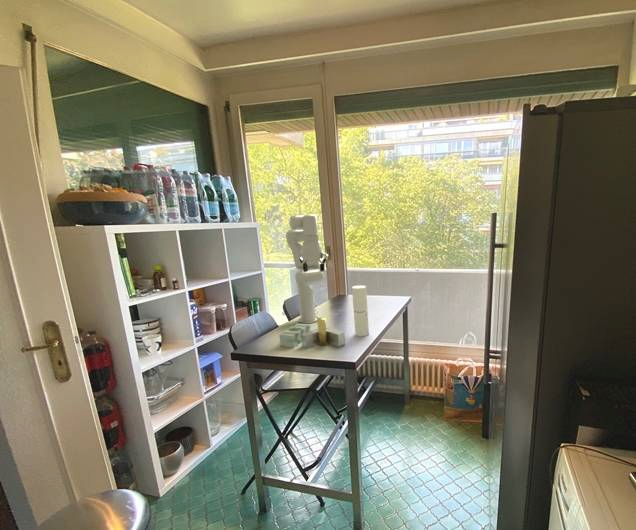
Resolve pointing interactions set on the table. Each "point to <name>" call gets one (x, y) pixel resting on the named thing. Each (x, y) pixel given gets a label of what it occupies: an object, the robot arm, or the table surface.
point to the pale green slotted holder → (293, 335)
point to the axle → (322, 331)
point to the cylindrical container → (360, 310)
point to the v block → (332, 338)
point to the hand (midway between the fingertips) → (314, 271)
